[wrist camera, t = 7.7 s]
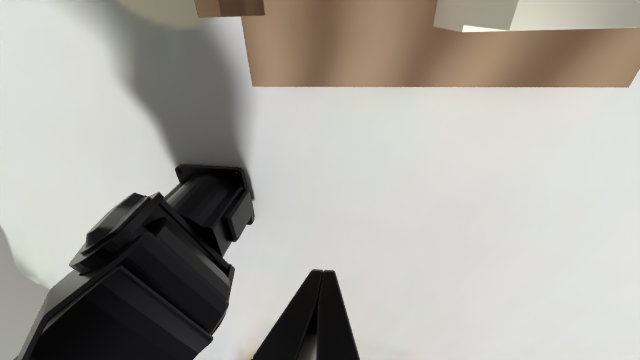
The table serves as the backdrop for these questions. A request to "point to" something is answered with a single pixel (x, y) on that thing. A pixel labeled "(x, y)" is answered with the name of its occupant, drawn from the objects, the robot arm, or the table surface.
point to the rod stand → (416, 48)
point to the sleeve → (535, 14)
